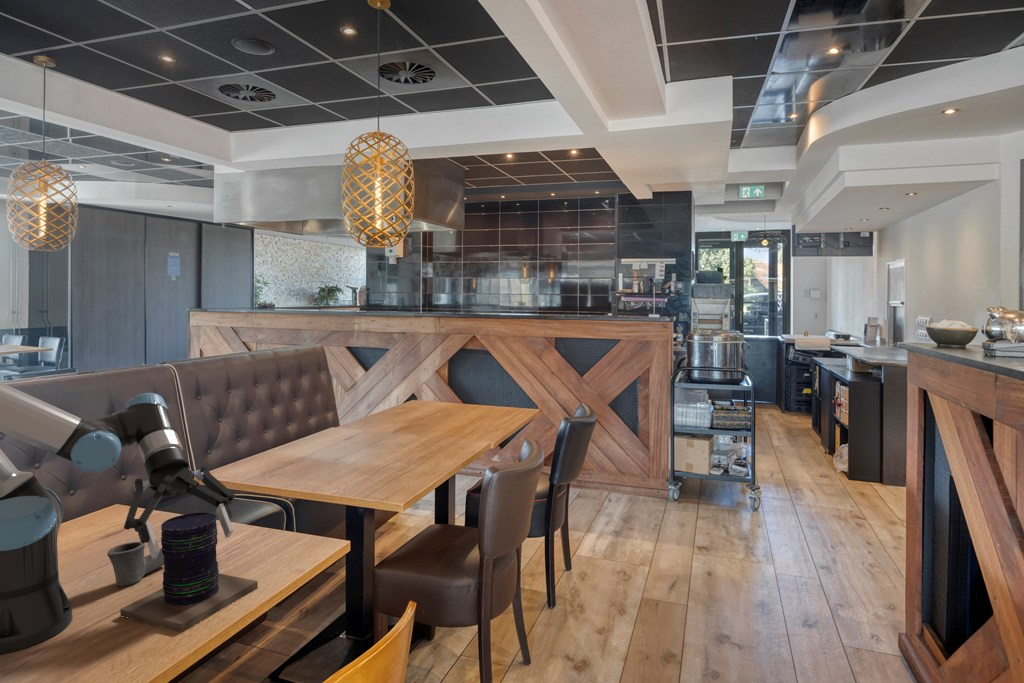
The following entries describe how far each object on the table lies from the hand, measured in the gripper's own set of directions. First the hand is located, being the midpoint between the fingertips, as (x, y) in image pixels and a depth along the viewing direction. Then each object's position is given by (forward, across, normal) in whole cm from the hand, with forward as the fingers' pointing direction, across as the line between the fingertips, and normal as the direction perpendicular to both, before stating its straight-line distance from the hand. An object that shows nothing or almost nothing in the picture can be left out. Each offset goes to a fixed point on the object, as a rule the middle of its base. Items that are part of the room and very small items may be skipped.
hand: (194, 544), depth 115 cm
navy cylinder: (+6, 0, -9) cm, 11 cm away
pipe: (-7, +3, -25) cm, 26 cm away
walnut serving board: (+7, 0, -10) cm, 12 cm away
